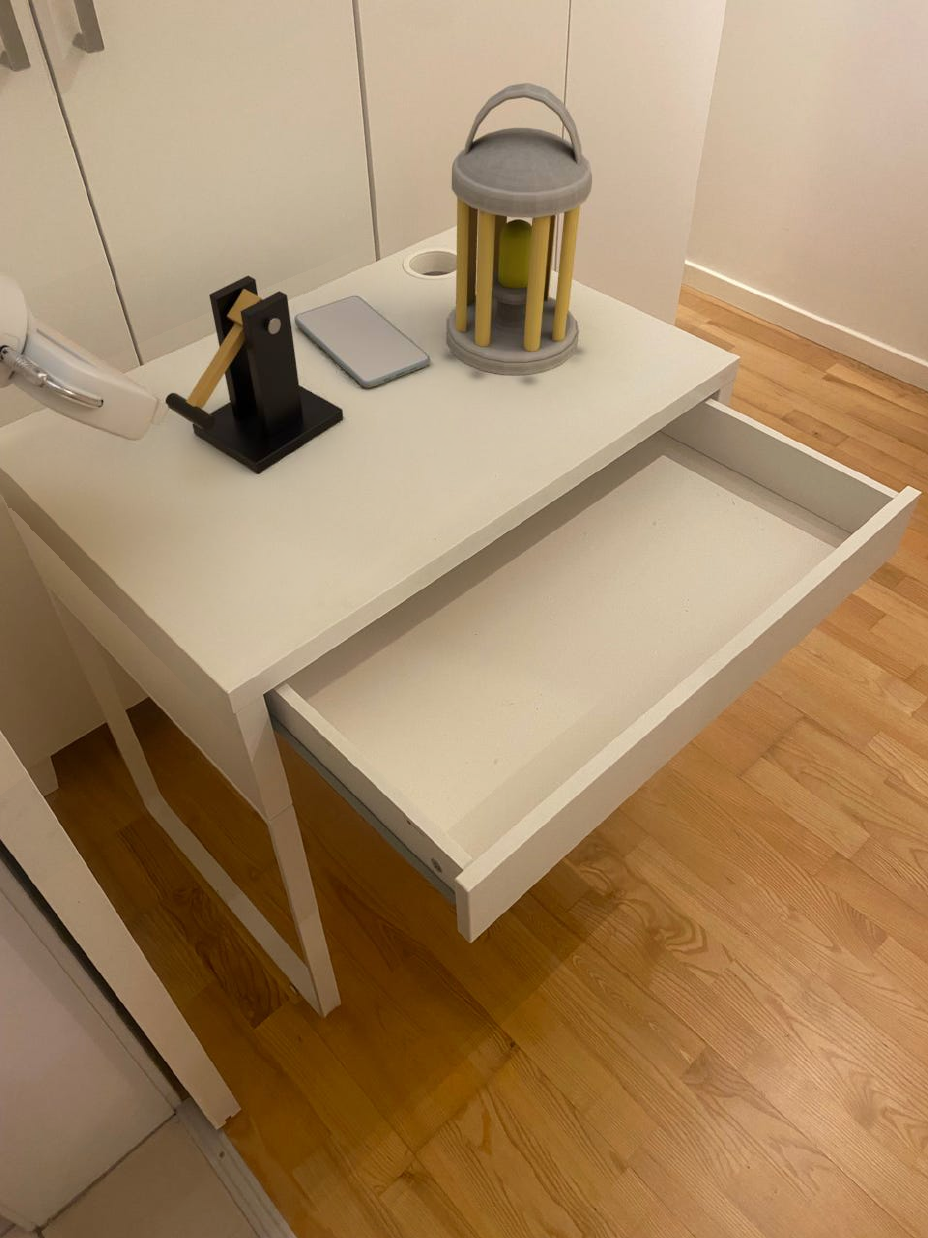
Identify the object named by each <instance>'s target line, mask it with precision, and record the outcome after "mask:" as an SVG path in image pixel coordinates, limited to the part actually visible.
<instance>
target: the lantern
mask: <svg viewBox="0 0 928 1238" xmlns="http://www.w3.org/2000/svg"><path fill="white" fill-rule="evenodd" d="M523 98H526V99H530V100H533V101H536V102H539V103H541V104H543V105H544V106H546V107H547V108H548V109H550V110H551V111H552V112H553V113H555V115H557V117H558V118H559V119H560V121H561V123H562V125H563V126H564V129H565V130H566V131H567V133H568V136H569V138H570V139H569V140H570V141H569V140H567V139H565V138H563V137H561V136H559V135H557V134H555V133H552V132H550V131H546V130H542V129H538V128H532V127H509V128H503V129H502V128H501V129H498V130H495V131H492V132H488V133H486V134H483V135H482V136H480V137H478V138H477V139H475V136H476V133H477V131H478V129H479V128H480V125H481V124H482V123H483V121H484V120H485V119H486V117H487V116H488V115H489V114H490V113H491V111H492V110H493V109H495V108H496V107H498V106H500V105H502V104H503V103H505V102H506V101H510V100H517V99H523ZM474 139H475V140H474ZM592 185H593V174H592V169H591V165H590V162H589V160H588V159H587V158H586V157H585V156H584V155H583V153H582V144H581V140H580V137H579V133H578V129H577V124H576V121H575V120H574V118H573V117H572V115H571V113H570V112H569V110H568V108H567V106H566V105H565V103H564V102H563V101H562V100H561V99H560V98H559V97H558V96H556V95H555V94H554V93H553V92H552V91H550V89H548V88H546V87H543V86H540V85H536V84H534V83H530V82H524V83H517V84H511V85H508V86H506V87H505V88H503V89H501V90H500V91H498V92H496V93H495V94H493V95H492V96H491V97H489V99H488V100H487V101H486V102H485V104H484V105H483V106H482V108H481V109H480V110H479V112H478V113H477V114H476V115H475V118H474V120H473V124H472V126H471V128H470V130H469V133H468V135H467V138H466V141H465V143H464V148H463V149H462V150H460V152H459V153H458V154H457V156H456V157H455V158H454V160H453V162H452V166H451V190H452V192H453V193H454V194H455V196H456V198H457V199H456V268H455V269H456V270H455V271H456V273H455V274H456V279H455V281H456V282H455V283H456V284H455V306H454V308H453V309H452V310H451V312H450V314H449V315H448V317H447V318H446V333H445V335H446V336H445V337H446V343H447V346H448V347H449V349H450V351H451V353H452V354H453V355H454V356H455V357H456V358H458V359H459V360H461V362H463V363H464V364H466V365H469V366H470V367H474V368H476V369H478V370H480V371H483V372H489V373H493V374H498V375H505V376H507V375H509V376H526V375H532V374H538V373H544V372H547V371H549V370H551V369H554V368H556V367H559V366H561V365H563V364H564V363H565V362H566V361H567V360H569V359H570V358H571V357H572V356H573V355H574V354H575V351H576V348H577V346H578V344H579V336H580V332H579V331H580V330H579V323H578V321H577V319H576V317H575V316H574V315H573V313H572V312H571V310H570V302H571V293H572V285H573V284H572V282H573V276H574V267H575V266H574V265H575V256H576V248H577V237H578V229H579V219H580V210H581V208H580V207H581V205H582V204H584V203H585V202H587V199H588V198H589V196H590V195H591V192H592ZM560 214H563V221H562V232H561V243H560V252H559V264H558V275H557V283H556V294H555V295H556V296H555V298H553V297H550V288H551V276H552V268H553V267H552V266H553V256H554V254H553V253H554V245H555V233H556V224H557V216H558V215H560ZM508 218H516V219H513V220H509V221H508ZM521 218H524V219H525V218H528V219H531V223H530V222H528V221H527V220H524V219H521Z"/></svg>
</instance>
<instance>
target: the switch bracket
mask: <svg viewBox="0 0 928 1238" xmlns="http://www.w3.org/2000/svg"><path fill="white" fill-rule="evenodd" d="M243 289H245V290H247V291H249V292H251V293H253V294H255V295H257V296H259V292H258V287H257V280H256V278H254V277H252V276H250V275H246V276H244V277H241V278H240V279H238V280H236V281H234V282H232V283H230V284H228V285H226V286H223V287H222V288H219V289H218V290H216V291H214V292H212V293H209V301H210V306H211V312H212V316H213V321H214V326H215V327H214V328H215V331H216V336H217V342H218V346H219V348H220V346H221V345H222V343H223V342H224V340H225V338H226V337H227V335H228V334H229V332H230V330H231V329H232V327H233V326H234V324H235V323H234V322H233V321H232V320H230V319H229V318H228V317H227V315H228V313H229V312H230V310H231V308H232V307H233V305H234V304H235V302H236V300H237V299H238V297H239V295H240V294H241V292H242V291H243ZM262 299H263V300H261V301H259V302H257V303H256V304H254V305H252V306H250V307H248V308H246V309H244V310H242V311H240V312H241V318H242V324H243V330H244V335H245V341H244V343H243V344H242V346H241V348H240V349H239V351H238V352H237V354H236V356H235V357H234V359H233V360H232V362H231V364H230V365H229V367H228V368H227V370H226V372H225V373H224V377H225V381H226V388H227V391H228V397H229V402H227V403H225V404H224V405H221V407H219V408H217V409H216V410H214V411H212V412H210V413H209V414H211V415H212V416H214V418H215V425H214V427H213V428H212V429H211V430H209V431H205V430H203V429H201V428H200V427H198V426H197V425H195V424H193V423H192V424H191V425H192V429H193V434H194V435H195V436H197V437H199V438H201V439H202V440H204V441H205V442H207V443H208V444H210V445H211V446H213V447H215V448H216V449H218V450H219V451H221V452H223V453H224V454H226V455H227V456H229V457H230V458H232V459H234V460H235V461H236V462H238V463H240V464H242V465H243V466H244V467H246V468H247V469H249V470H251V471H252V472H254V473H256V474H261V473H262V472H264V471H265V470H267V469H268V468H270V467H271V466H273V465H274V464H276V463H277V462H279V461H281V460H282V459H284V458H286V457H288V456H289V455H291V454H292V453H293V452H295V451H296V450H298V449H299V448H301V447H303V446H304V445H306V444H307V443H309V442H310V441H312V440H313V439H315V438H316V437H318V436H319V435H321V434H322V433H324V432H326V431H327V430H329V429H330V428H332V427H334V426H335V425H337V424H339V423H340V422H342V421H343V420H344V410H343V408H341V407H339V406H337V405H336V404H334V403H332V402H330V401H328V400H327V399H325V398H323V397H321V396H320V395H318V394H316V393H315V392H312V391H310V389H309V390H308V389H307V388H306V387H303V386H301V385H300V384H299V383H300V382H299V376H298V375H299V374H298V368H297V367H298V366H297V360H296V353H295V345H294V338H293V337H294V336H293V330H292V323H291V315H290V307H289V306H290V305H289V299H288V294H286V293H284V292H282V291H277V292H275V293H273V294H271V295H269V296H267V297H265V298H262Z"/></svg>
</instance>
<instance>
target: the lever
mask: <svg viewBox="0 0 928 1238" xmlns="http://www.w3.org/2000/svg"><path fill="white" fill-rule="evenodd" d="M263 299H264V298H262V297H261V296H259V295H258V296H257V295H255V294H253V293H251V292H249V291H247V290H245V289H243V291H242V292H241V294H240V295H239V297H238V299H237V300H236V302H235V304H234V305H233V307H232V308H231V310H230V312H229V313H228V315H227V317H228V318H229V319H230V320H232V321H233V322H234V323H235V324H234V326H233V327H232V329H231V330H230V332H229V334H228V335H227V337H226V338H225V340H224V342H223V343H222V345H221V346H220V347H219V348H218V350H217V351H216V353H215V354H214V356H213V358H212V359H211V361H210V363H209V364H208V365H207V368H206V369H205V371H204V372H203V373H202V375H201V377H200V378H199V380H198V382H197V383H196V385H195V387H194V388H193V390H192V391H191V392H190V395H189V396H188V398H187V399H186V398H185V397H184V396H181V395H180V394H178V393H176V392H171V393H169V394H167V396H166V398H165V400H164V401H165V403H166V404H167V405H168V407H169V409H168V410H171V411H172V412H174V413H176V414H177V415H179V416H181V417H182V418H184V419H185V420H187V421H188V422H190V423H192V424H195V425H197V426H198V427H200V428H201V429H203V430H205V431H209V430H211V429H212V428H213V427H214V425H215V418H214V416H212V415H211V414H210V413H209V412H208V411H206V410H204V409H203V408H204V407H205V405H206V404H207V402H208V401H209V399H210V397H211V396H212V394H213V393H214V391H215V390H216V388H217V386H218V384H219V383H220V381H221V379H222V378H223V377H224V376H225V372H226V370H227V368H228V367H229V365H230V364H231V362H232V360H233V359H234V357H235V356H236V354H237V352H238V351H239V349H240V348H241V346H242V344H243V343H244V341H245V335H244V330H243V324H242V318H241V312H240V311H242V310H244V309H246V308H248V307H250V306H252V305H254V304H256V303H257V302H259V301H261V300H263Z"/></svg>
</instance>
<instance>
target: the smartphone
mask: <svg viewBox="0 0 928 1238" xmlns="http://www.w3.org/2000/svg"><path fill="white" fill-rule="evenodd" d="M293 321H294V324H295V325H296V326H297V327H298V328H299V330H301V331H303V332H304V333H305V335H307V336H308V337H309V338H310V339H311V340H312V341H313V342H314V343H315V344H316V345H317V346H319V347H320V348H321V349H322V350H323V351H324V352H325V353H326V354H327V355H328V356H329V358H331V359H332V360H333V361H334V362H336V363H337V364H338V365H339V366H340V367H341V368H342V369H343V370H344V371H345V372H346V373H347V374H348V375H350V376H351V377H352V379H354V380H355V382H357V383H358V384H359V385H360V386H361V387H363V388H365V389H370V388H374V387H376V386H379V385H381V384H384V383H386V382H389V381H392V380H394V379H397V378H399V377H402V376H404V375H408V374H410V373H413V372H415V371H417V370H420V369H422V368H425V367H427V366H429V365H430V364H431V356H430V355H429V354H428V353H427V352H426V351H424V349H422V348H421V347H420V346H419V345H417V344H416V343H415V342H414V341H412V340H411V338H409V337H408V336H407V335H406V334H404V333H403V332H402V331H401V330H400V329H398V328H397V326H395V325H394V324H393V323H391V322H390V321H389V320H388V319H387V318H385V316H383V315H382V314H381V313H380V312H379V311H377V309H375V308H374V307H373V306H371V304H369V303H368V302H367V301H365V300H364V299H363V298H362V297H361V296H358V295H350V296H348V297H344V298H341V299H339V300H336V301H332V302H330V303H327V304H324V305H320V306H318V307H315V308H312V309H310V310H307V311H304V312H301V313H299V314H297V315H295V316H294V320H293Z"/></svg>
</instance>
